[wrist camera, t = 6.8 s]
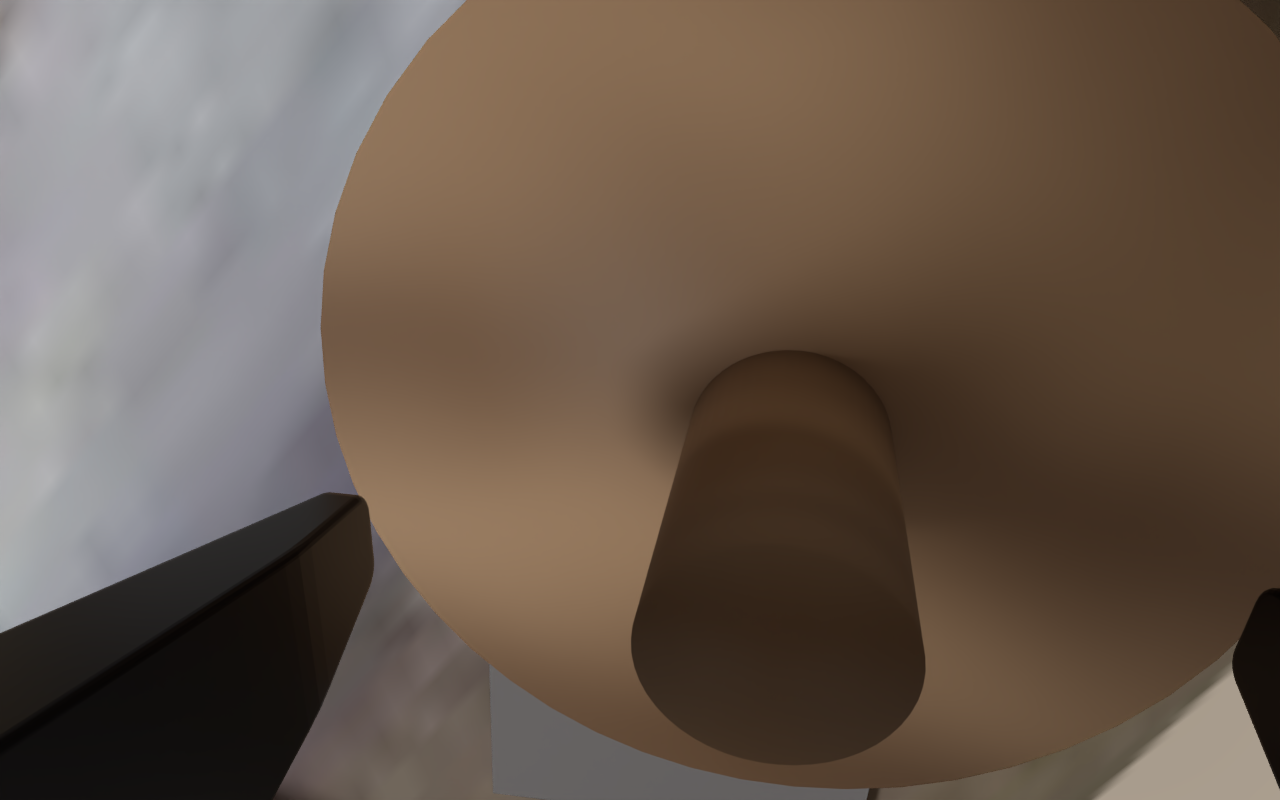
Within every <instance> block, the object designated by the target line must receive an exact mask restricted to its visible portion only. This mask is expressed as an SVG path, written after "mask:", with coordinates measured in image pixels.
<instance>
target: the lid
mask: <svg viewBox="0 0 1280 800" xmlns="http://www.w3.org/2000/svg"><path fill="white" fill-rule="evenodd" d="M321 337H322V349H323V361H324V374H325V384H326V389H327V394H328V398H329V403H330V408H331V412H332V417H333V422H334V426H335V431H336V435H337V438H338V441H339V444H340V447H341V450H342V453H343V455H344V458H345V461H346V464H347V467H348V470H349V473H350V476H351V478H352V481H353V484H354V486H355V488H356V490H357V492H358V494H359V496H362V497H363V498H364V499H365V500H366V502H367V505H368V507H369V514H370V519H371V521H372V523H373V525H374V527H375V529H376V531H377V533H378V534H379V536H380V537H381V539H382V540H383V542H384V544H385V545H386V547H387V548H388V550H389V551H390V553H391V555H392V556H393V558H394V559H395V561H396V562H397V564H398V565H399V567H400V569H401V570H402V572H403V573H404V575H405V576H406V577H407V578H408V579H409V581H410V582H411V583H412V584H413V586H414V587H415V588H416V589H417V591H418V592H419V593H420V594H421V596H422V597H423V598H424V599H425V601H426V602H427V603H428V604H429V605H430V607H431V608H432V609H433V610H434V612H435V613H436V614H437V615H438V616H439V617H440V618H441V619H442V620H443V621H444V622H445V623H446V624H447V625H448V626H449V627H450V628H451V629H452V630H453V631H454V632H455V633H456V634H457V635H458V636H459V637H460V638H461V639H462V640H463V641H464V642H465V643H466V644H467V645H468V646H469V647H470V648H471V649H472V650H473V651H475V652H476V653H477V654H478V655H480V656H481V657H482V658H483V659H484V660H486V661H487V662H488V663H489V664H491V665H492V666H493V667H494V668H495V669H497V670H498V671H499V672H500V673H502V674H503V675H504V676H505V677H506V678H508V679H509V680H510V681H512V682H513V683H515V684H516V685H518V686H519V687H521V688H522V689H524V690H525V691H527V692H528V693H530V694H531V695H533V696H534V697H536V698H537V699H539V700H540V701H542V702H543V703H545V704H546V705H548V706H549V707H551V708H552V709H554V710H556V711H558V712H560V713H562V714H563V715H565V716H567V717H569V718H571V719H573V720H574V721H576V722H578V723H580V724H582V725H584V726H586V727H587V728H589V729H591V730H593V731H595V732H597V733H599V734H602V735H604V736H606V737H609V738H611V739H613V740H616V741H618V742H620V743H623V744H625V745H627V746H630V747H632V748H634V749H637V750H639V751H641V752H644V753H647V754H650V755H653V756H656V757H659V758H663V759H666V760H669V761H672V762H675V763H678V764H681V765H684V766H687V767H690V768H694V769H699V770H703V771H707V772H712V773H716V774H720V775H725V776H729V777H733V778H737V779H742V780H749V781H757V782H764V783H771V784H778V785H785V786H792V787H811V788H831V789H867V788H892V787H906V786H913V785H921V784H929V783H936V782H944V781H952V780H958V779H962V778H966V777H971V776H975V775H980V774H984V773H988V772H993V771H997V770H1002V769H1006V768H1010V767H1013V766H1016V765H1019V764H1022V763H1025V762H1028V761H1031V760H1034V759H1037V758H1040V757H1043V756H1046V755H1049V754H1053V753H1056V752H1059V751H1062V750H1065V749H1067V748H1069V747H1071V746H1073V745H1076V744H1078V743H1080V742H1082V741H1085V740H1087V739H1089V738H1091V737H1094V736H1096V735H1098V734H1100V733H1102V732H1105V731H1107V730H1109V729H1111V728H1114V727H1116V726H1118V725H1120V724H1121V723H1123V722H1125V721H1127V720H1128V719H1130V718H1132V717H1133V716H1135V715H1137V714H1139V713H1140V712H1142V711H1144V710H1145V709H1147V708H1149V707H1151V706H1152V705H1154V704H1156V703H1157V702H1159V701H1161V700H1163V699H1164V698H1166V697H1168V696H1169V695H1171V694H1172V693H1173V692H1175V691H1176V690H1178V689H1179V688H1180V687H1182V686H1183V685H1184V684H1186V683H1187V682H1188V681H1190V680H1191V679H1192V678H1194V677H1195V676H1196V675H1198V674H1199V673H1200V672H1202V671H1203V670H1204V669H1206V668H1207V667H1208V666H1210V665H1211V664H1212V663H1214V662H1215V661H1216V660H1218V659H1219V658H1220V657H1221V656H1222V655H1223V654H1224V653H1225V652H1226V651H1227V650H1228V649H1229V648H1230V647H1232V646H1233V645H1234V644H1235V643H1236V642H1237V641H1238V640H1239V639H1240V637H1241V634H1242V632H1243V630H1244V628H1245V625H1246V623H1247V621H1248V619H1249V616H1250V614H1251V612H1252V609H1253V607H1254V605H1255V603H1256V600H1257V599H1258V597H1259V596H1260V595H1261V594H1262V593H1263V592H1264V591H1266V590H1268V589H1271V588H1280V41H1279V40H1278V38H1277V37H1276V36H1275V34H1274V33H1273V32H1272V30H1271V29H1270V28H1269V27H1268V26H1267V25H1266V24H1265V23H1264V22H1262V21H1261V20H1260V19H1259V18H1258V17H1257V16H1256V15H1255V14H1254V13H1253V12H1252V11H1251V10H1250V9H1249V8H1248V7H1247V6H1245V5H1244V4H1243V3H1242V2H1241V1H1240V0H467V1H466V2H465V3H464V4H463V5H462V6H461V7H460V8H459V9H458V10H457V11H456V12H455V13H454V14H453V15H452V16H451V17H450V18H449V19H448V20H447V21H446V22H445V23H444V24H443V25H442V26H441V27H440V28H439V29H438V30H437V31H436V32H435V33H434V34H433V35H432V36H431V37H430V38H429V39H428V40H427V41H426V43H425V44H424V46H423V47H422V48H421V50H420V51H419V52H418V54H417V55H416V56H415V58H414V59H413V61H412V62H411V63H410V65H409V66H408V67H407V69H406V70H405V71H404V73H403V74H402V76H401V77H400V78H399V80H398V81H397V82H396V84H395V85H394V87H393V88H392V89H391V91H390V92H389V93H388V95H387V96H386V98H385V100H384V102H383V104H382V106H381V108H380V110H379V111H378V113H377V115H376V117H375V119H374V121H373V123H372V125H371V127H370V129H369V130H368V132H367V134H366V136H365V138H364V140H363V142H362V144H361V146H360V148H359V149H358V151H357V153H356V156H355V159H354V161H353V164H352V167H351V170H350V173H349V176H348V179H347V181H346V184H345V187H344V190H343V193H342V196H341V198H340V201H339V204H338V207H337V210H336V213H335V218H334V223H333V228H332V233H331V238H330V243H329V248H328V253H327V258H326V263H325V268H324V279H323V297H322V316H321Z"/></svg>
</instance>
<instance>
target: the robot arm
mask: <svg viewBox="0 0 1280 800" xmlns="http://www.w3.org/2000/svg"><path fill="white" fill-rule="evenodd" d="M373 571H374V556H373V546H372V535H371V524H370V514H369V507H368V505H367V502H366V500H365V499H364V498H363V497H362V496H359V495H351V494H341V493H331V492H329V493H323V494H320V495H318V496H316V497H313V498H311V499H309V500H307V501H304V502H302V503H300V504H297V505H295V506H293V507H290V508H288V509H286V510H284V511H281V512H279V513H277V514H274V515H272V516H270V517H267V518H265V519H263V520H260V521H258V522H256V523H254V524H251V525H249V526H247V527H244V528H242V529H240V530H237V531H235V532H233V533H230V534H228V535H226V536H224V537H221V538H219V539H217V540H214V541H212V542H210V543H207V544H205V545H203V546H200V547H198V548H196V549H194V550H191V551H189V552H187V553H184V554H182V555H180V556H177V557H175V558H173V559H170V560H168V561H166V562H164V563H161V564H159V565H157V566H154V567H152V568H150V569H147V570H145V571H143V572H140V573H138V574H136V575H134V576H131V577H129V578H127V579H124V580H122V581H120V582H117V583H115V584H113V585H110V586H108V587H106V588H104V589H101V590H99V591H97V592H94V593H92V594H90V595H87V596H85V597H83V598H80V599H78V600H76V601H74V602H71V603H69V604H67V605H64V606H62V607H60V608H57V609H55V610H53V611H50V612H48V613H46V614H44V615H41V616H39V617H37V618H34V619H32V620H30V621H27V622H25V623H23V624H20V625H18V626H16V627H14V628H11V629H9V630H7V631H4V632H2V633H0V800H272V799H273V797H274V796H275V794H276V792H277V790H278V788H279V786H280V784H281V783H282V781H283V779H284V777H285V775H286V773H287V771H288V770H289V768H290V766H291V764H292V762H293V760H294V758H295V756H296V755H297V753H298V751H299V749H300V747H301V745H302V743H303V742H304V740H305V738H306V736H307V734H308V732H309V730H310V728H311V726H312V724H313V722H314V720H315V718H316V716H317V714H318V712H319V710H320V708H321V706H322V704H323V701H324V699H325V697H326V695H327V692H328V690H329V688H330V685H331V682H332V680H333V677H334V675H335V672H336V670H337V667H338V665H339V662H340V660H341V657H342V655H343V652H344V650H345V647H346V645H347V642H348V640H349V637H350V635H351V632H352V630H353V627H354V625H355V622H356V620H357V617H358V615H359V612H360V610H361V607H362V605H363V602H364V599H365V597H366V594H367V592H368V589H369V587H370V584H371V581H372V577H373ZM1232 668H1233V674H1234V678H1235V681H1236V684H1237V686H1238V689H1239V691H1240V693H1241V696H1242V698H1243V700H1244V703H1245V705H1246V708H1247V711H1248V713H1249V715H1250V718H1251V720H1252V723H1253V725H1254V728H1255V730H1256V733H1257V735H1258V737H1259V740H1260V742H1261V745H1262V747H1263V750H1264V752H1265V754H1266V757H1267V759H1268V762H1269V764H1270V767H1271V769H1272V772H1273V774H1274V776H1275V779H1276V781H1277V784H1278V786H1279V788H1280V588H1271V589H1268V590H1266V591H1264V592H1263V593H1262V594H1261V595H1260V596H1259V597H1258V599H1257V600H1256V603H1255V605H1254V607H1253V609H1252V612H1251V614H1250V616H1249V619H1248V621H1247V623H1246V625H1245V628H1244V630H1243V632H1242V634H1241V637H1240V639H1239V641H1238V644H1237V646H1236V648H1235V651H1234V654H1233V661H1232Z"/></svg>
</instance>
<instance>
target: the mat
mask: <svg viewBox="0 0 1280 800" xmlns="http://www.w3.org/2000/svg"><path fill="white" fill-rule="evenodd" d="M489 672H490V705H491V738H492V772H493V793H497V794H505V795H513V796H521V797H530V798H538V799H546V800H867V796H868V791H869V788H867V789H831V788H811V787H792V786H785V785H778V784H771V783H764V782H757V781H749V780H742V779H737V778H733V777H729V776H725V775H720V774H716V773H712V772H707V771H703V770H699V769H694V768H690V767H687V766H684V765H681V764H678V763H675V762H672V761H669V760H666V759H663V758H659V757H656V756H653V755H650V754H647V753H644V752H641V751H639V750H637V749H634V748H632V747H630V746H627V745H625V744H623V743H620V742H618V741H616V740H613V739H611V738H609V737H606V736H604V735H602V734H599V733H597V732H595V731H593V730H591V729H589V728H587V727H586V726H584V725H582V724H580V723H578V722H576V721H574V720H573V719H571V718H569V717H567V716H565V715H563V714H562V713H560V712H558V711H556V710H554V709H552V708H551V707H549V706H548V705H546V704H545V703H543V702H542V701H540V700H539V699H537V698H536V697H534V696H533V695H531V694H530V693H528V692H527V691H525V690H524V689H522V688H521V687H519V686H518V685H516V684H515V683H513V682H512V681H510V680H509V679H508V678H506V677H505V676H504V675H503V674H502V673H500V672H499V671H498V670H497V669H495V668H494V667H493V666H492V665H491V664H489Z"/></svg>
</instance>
